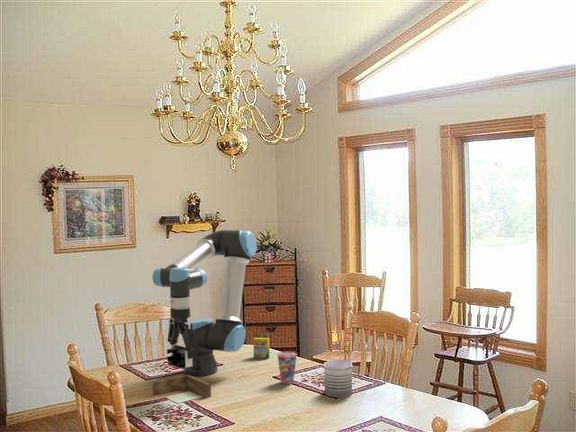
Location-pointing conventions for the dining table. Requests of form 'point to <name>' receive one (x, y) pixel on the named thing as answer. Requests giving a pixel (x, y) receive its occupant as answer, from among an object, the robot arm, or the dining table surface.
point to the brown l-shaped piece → (182, 385)
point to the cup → (287, 366)
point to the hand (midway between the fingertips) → (181, 363)
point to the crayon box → (261, 346)
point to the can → (338, 378)
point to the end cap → (179, 356)
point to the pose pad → (183, 397)
